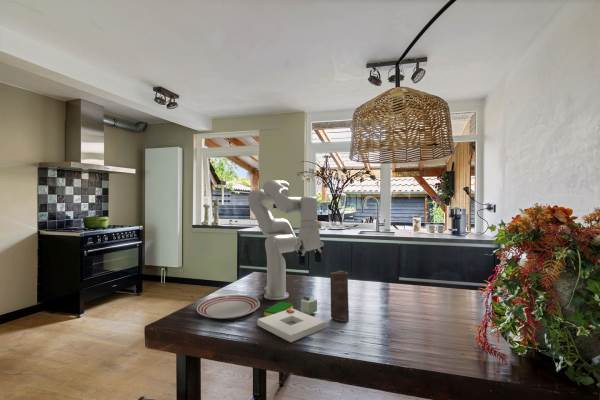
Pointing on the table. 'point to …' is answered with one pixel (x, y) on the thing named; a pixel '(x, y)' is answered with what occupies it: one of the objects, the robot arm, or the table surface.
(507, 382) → the table surface
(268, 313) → the dish sponge
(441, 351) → the table surface
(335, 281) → the candle
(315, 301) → the plug
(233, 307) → the dinner plate
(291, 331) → the socket
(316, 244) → the robot arm
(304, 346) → the table surface
